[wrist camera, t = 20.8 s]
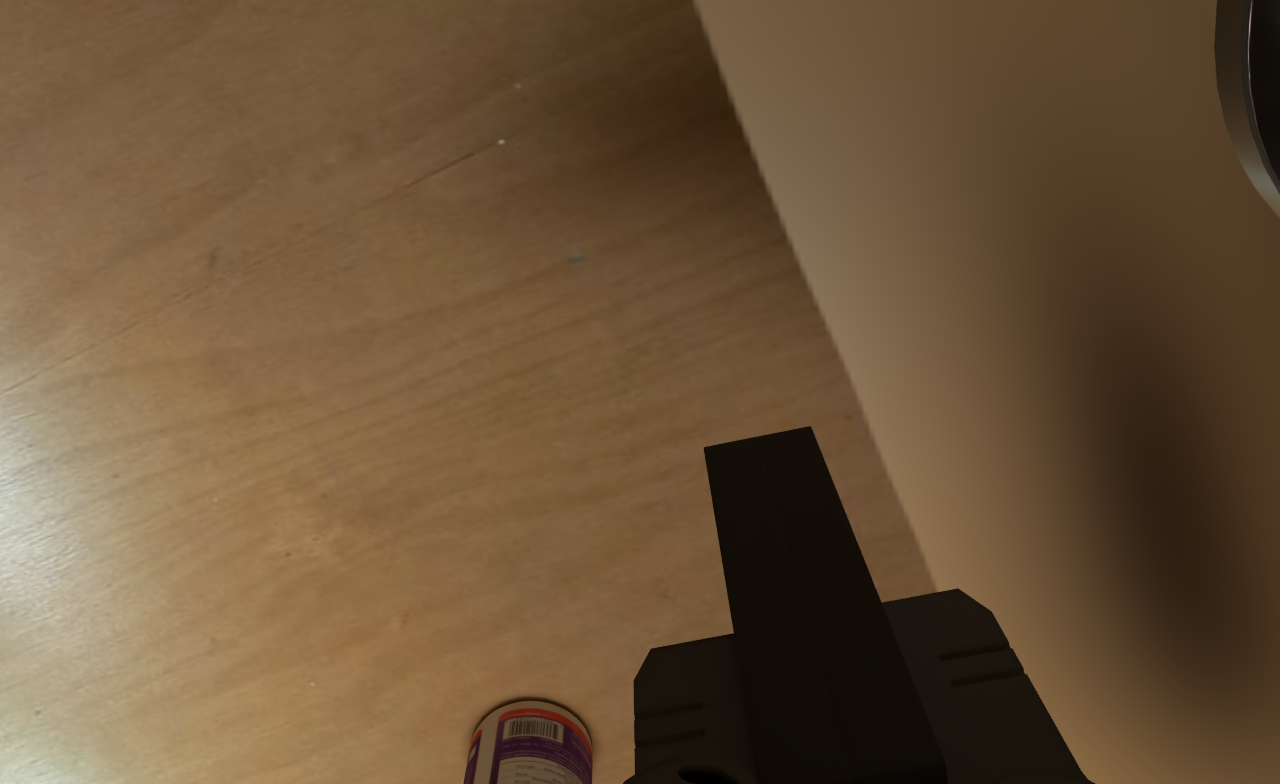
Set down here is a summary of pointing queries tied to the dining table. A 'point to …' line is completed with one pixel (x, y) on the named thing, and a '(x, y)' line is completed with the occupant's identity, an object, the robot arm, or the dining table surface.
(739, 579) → the robot arm
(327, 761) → the dining table surface
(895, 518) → the dining table surface
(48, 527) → the dining table surface
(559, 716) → the pill bottle
